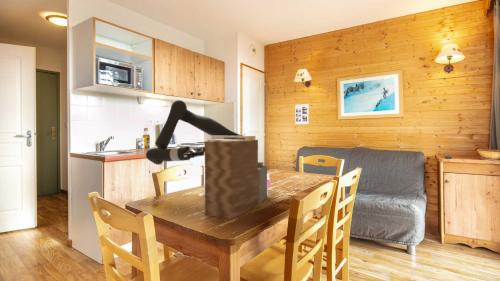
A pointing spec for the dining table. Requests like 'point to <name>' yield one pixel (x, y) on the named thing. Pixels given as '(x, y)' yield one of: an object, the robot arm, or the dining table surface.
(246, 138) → the t key
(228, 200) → the stand
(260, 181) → the hip flask
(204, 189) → the teacup and saucer
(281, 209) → the dining table surface
